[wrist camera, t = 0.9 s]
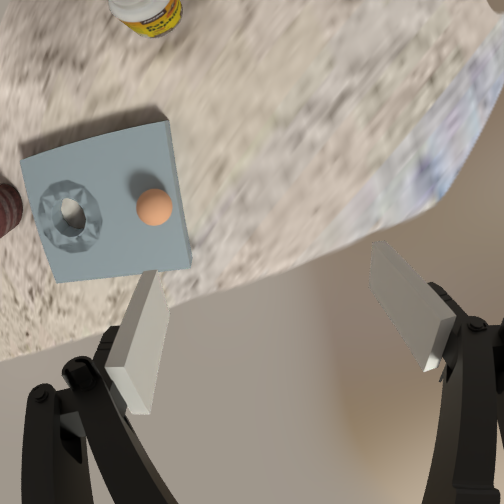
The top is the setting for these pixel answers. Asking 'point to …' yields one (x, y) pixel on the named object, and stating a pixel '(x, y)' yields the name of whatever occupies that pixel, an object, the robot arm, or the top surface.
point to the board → (108, 204)
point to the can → (9, 209)
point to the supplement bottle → (148, 15)
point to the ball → (154, 207)
